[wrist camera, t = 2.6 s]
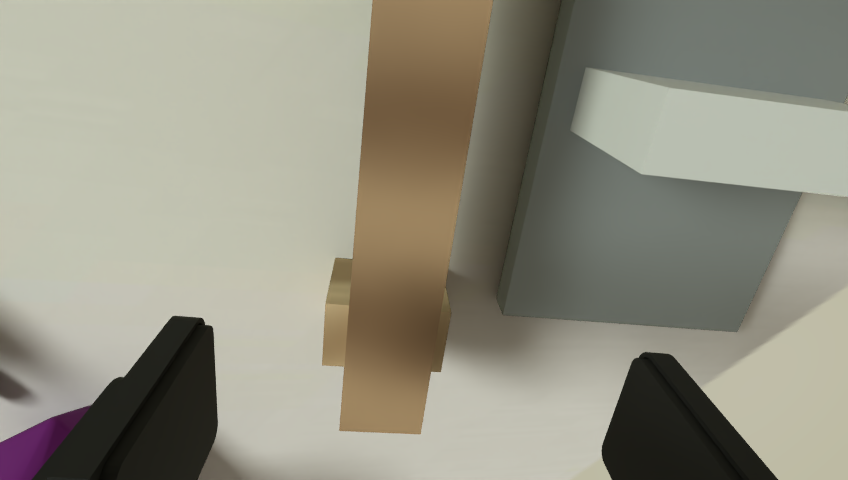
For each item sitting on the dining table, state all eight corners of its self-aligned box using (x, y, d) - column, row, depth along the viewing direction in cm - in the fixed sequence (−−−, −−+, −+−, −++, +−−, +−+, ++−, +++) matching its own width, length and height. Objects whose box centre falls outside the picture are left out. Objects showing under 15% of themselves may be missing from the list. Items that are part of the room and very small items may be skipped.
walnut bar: (413, -476, 11) (422, -640, 8) (542, -442, 11) (592, -589, 9) (345, 376, 21) (339, 430, 18) (416, 380, 21) (420, 434, 18)
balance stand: (609, -220, 16) (772, -393, 9) (925, -154, 18) (1266, -263, 11) (496, 298, 24) (539, 408, 17) (718, 315, 26) (838, 423, 19)
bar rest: (371, -337, 15) (366, -454, 11) (532, -301, 15) (577, -401, 12) (332, 312, 24) (322, 365, 20) (432, 319, 24) (440, 372, 21)
